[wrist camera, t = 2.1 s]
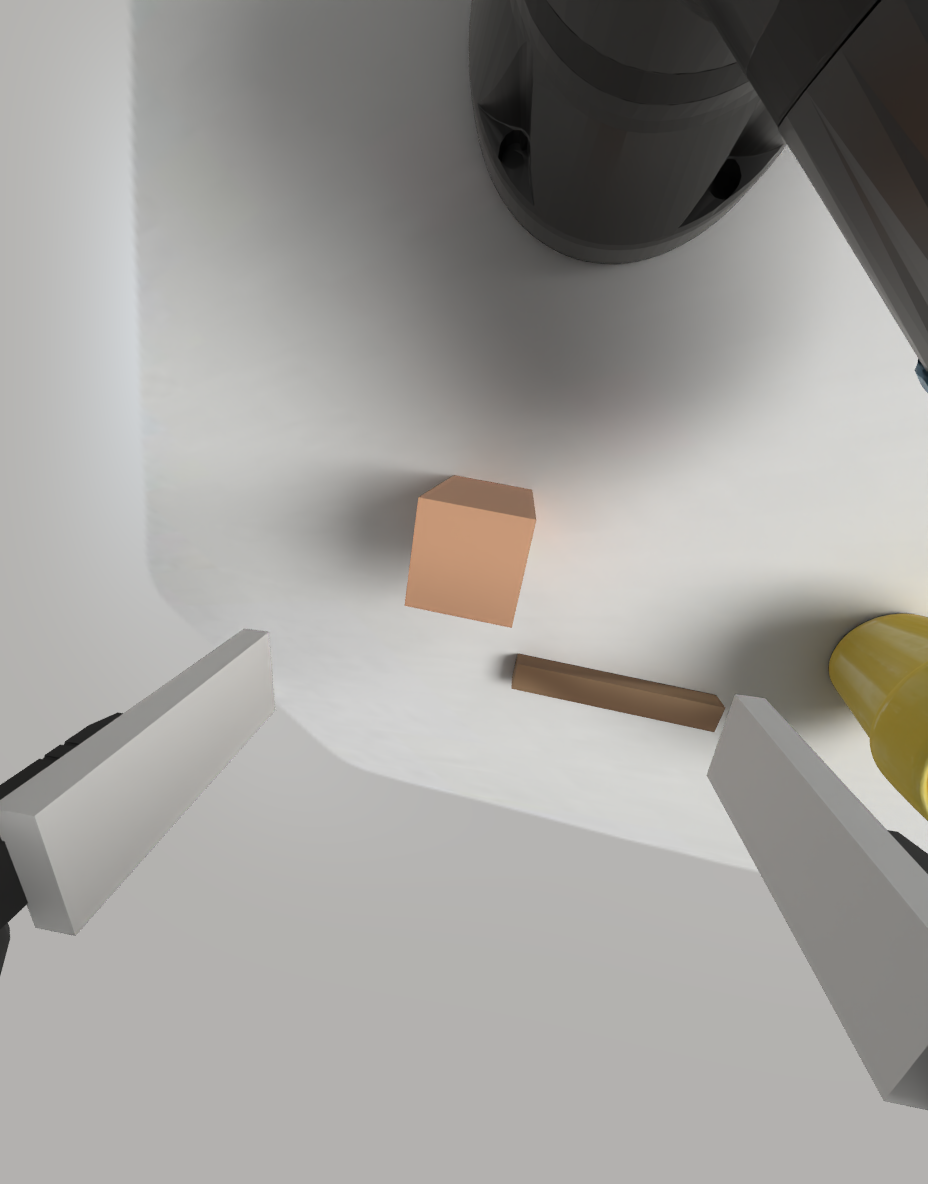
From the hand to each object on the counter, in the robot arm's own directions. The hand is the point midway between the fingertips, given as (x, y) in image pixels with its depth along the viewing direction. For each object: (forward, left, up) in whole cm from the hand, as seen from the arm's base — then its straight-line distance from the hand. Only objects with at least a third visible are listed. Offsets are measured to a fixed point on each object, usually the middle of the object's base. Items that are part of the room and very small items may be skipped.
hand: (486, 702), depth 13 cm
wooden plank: (+8, +9, -18) cm, 21 cm away
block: (-2, -2, -18) cm, 18 cm away
